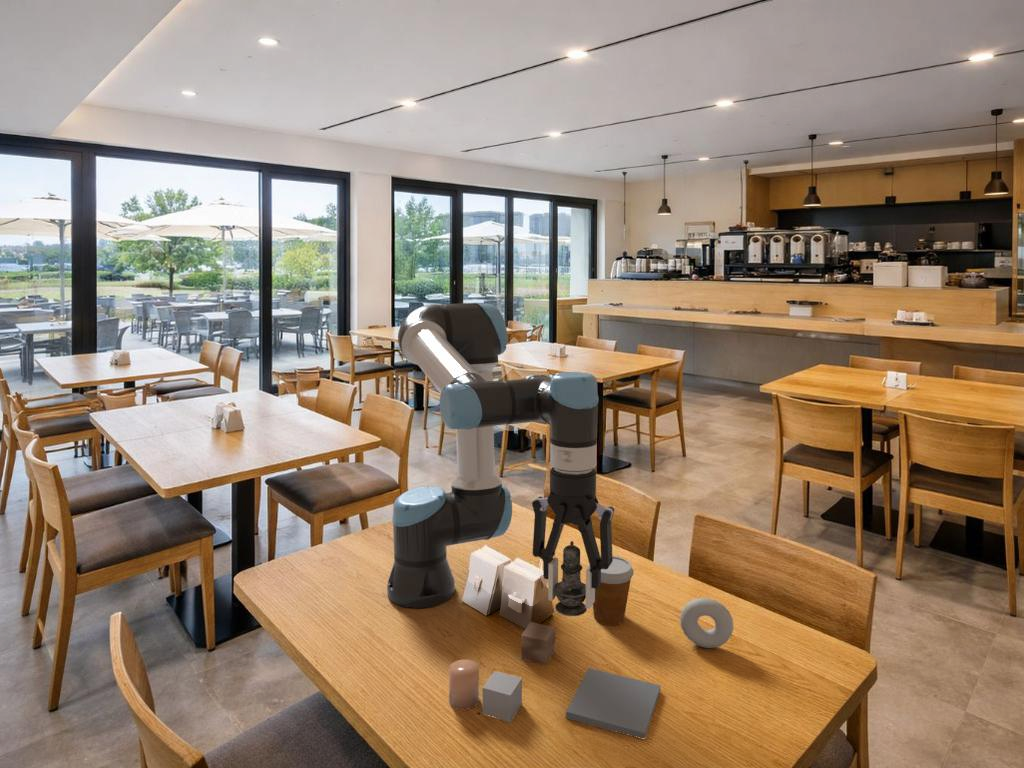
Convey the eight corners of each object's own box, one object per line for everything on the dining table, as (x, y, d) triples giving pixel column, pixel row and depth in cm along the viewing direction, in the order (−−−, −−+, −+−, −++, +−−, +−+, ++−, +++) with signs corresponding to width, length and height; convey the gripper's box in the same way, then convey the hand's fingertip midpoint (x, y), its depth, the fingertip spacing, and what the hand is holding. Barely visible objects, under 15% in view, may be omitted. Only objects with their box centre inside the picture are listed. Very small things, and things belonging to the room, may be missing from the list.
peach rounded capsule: (443, 703, 112) (443, 671, 111) (459, 687, 117) (459, 656, 115) (468, 713, 110) (469, 680, 109) (483, 696, 114) (484, 664, 113)
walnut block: (521, 659, 125) (521, 635, 124) (530, 645, 130) (530, 621, 129) (546, 665, 123) (546, 640, 122) (554, 651, 128) (555, 627, 127)
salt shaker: (567, 596, 116) (567, 531, 114) (595, 607, 112) (596, 540, 110) (546, 609, 111) (547, 541, 109) (575, 620, 108) (576, 551, 106)
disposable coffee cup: (577, 617, 140) (578, 564, 138) (604, 601, 146) (606, 550, 144) (613, 635, 133) (615, 579, 131) (640, 617, 140) (643, 564, 138)
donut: (732, 646, 129) (735, 599, 128) (731, 656, 126) (734, 607, 124) (679, 636, 133) (682, 590, 131) (677, 645, 130) (680, 598, 128)
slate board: (565, 718, 109) (566, 711, 109) (588, 673, 121) (588, 667, 120) (644, 740, 104) (645, 733, 104) (660, 691, 116) (660, 685, 115)
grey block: (482, 714, 110) (482, 687, 109) (495, 696, 114) (494, 670, 113) (510, 722, 108) (510, 695, 107) (521, 704, 112) (522, 677, 111)
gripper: (510, 467, 108) (511, 599, 112) (624, 481, 101) (620, 623, 104) (528, 455, 115) (528, 581, 119) (635, 468, 107) (632, 601, 111)
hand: (571, 600), depth 112 cm, fingers closed on salt shaker, 6 cm apart
